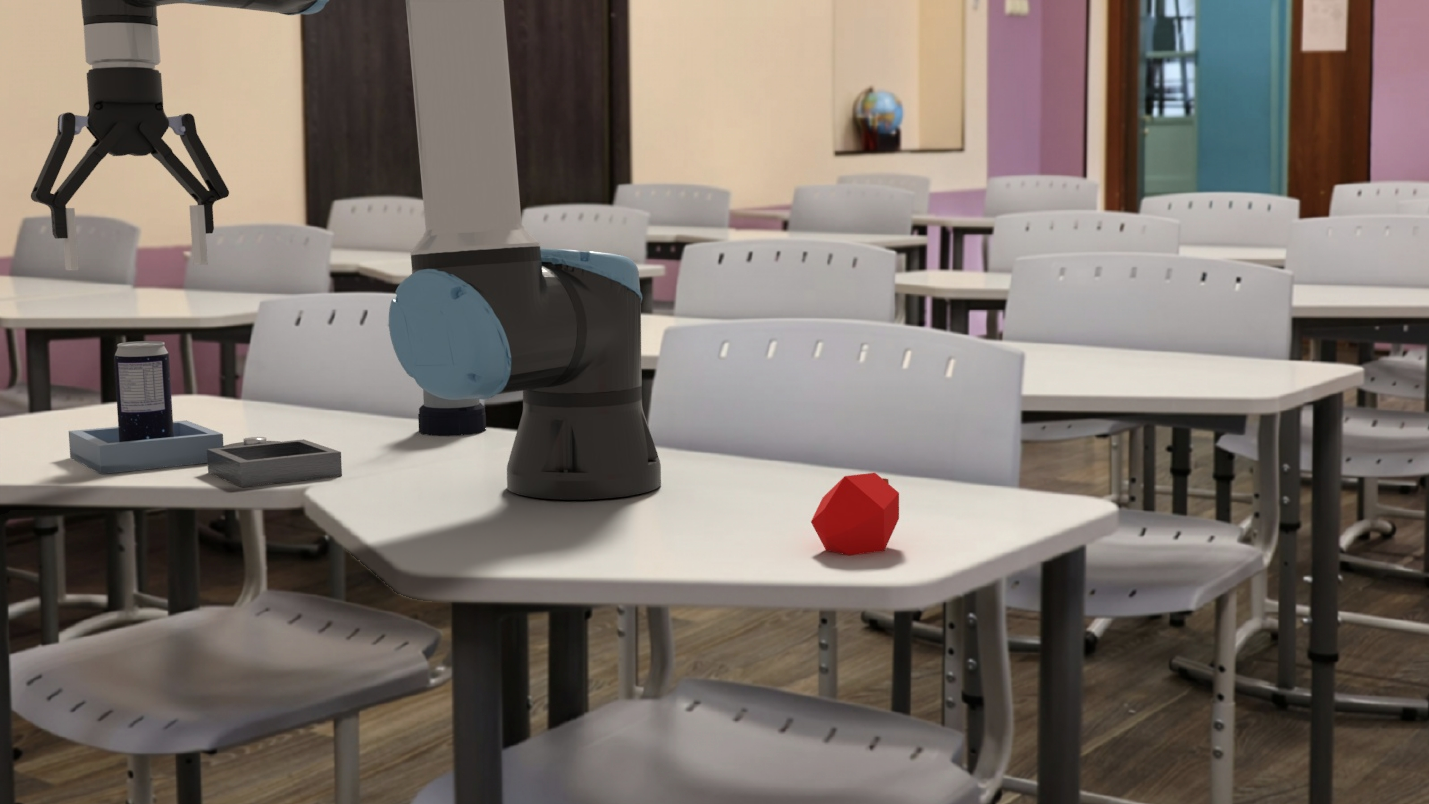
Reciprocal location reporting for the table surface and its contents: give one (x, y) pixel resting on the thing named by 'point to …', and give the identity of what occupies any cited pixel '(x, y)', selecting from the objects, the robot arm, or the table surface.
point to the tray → (142, 448)
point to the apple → (857, 515)
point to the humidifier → (451, 416)
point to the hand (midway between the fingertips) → (137, 267)
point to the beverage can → (143, 391)
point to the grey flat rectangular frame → (273, 462)
